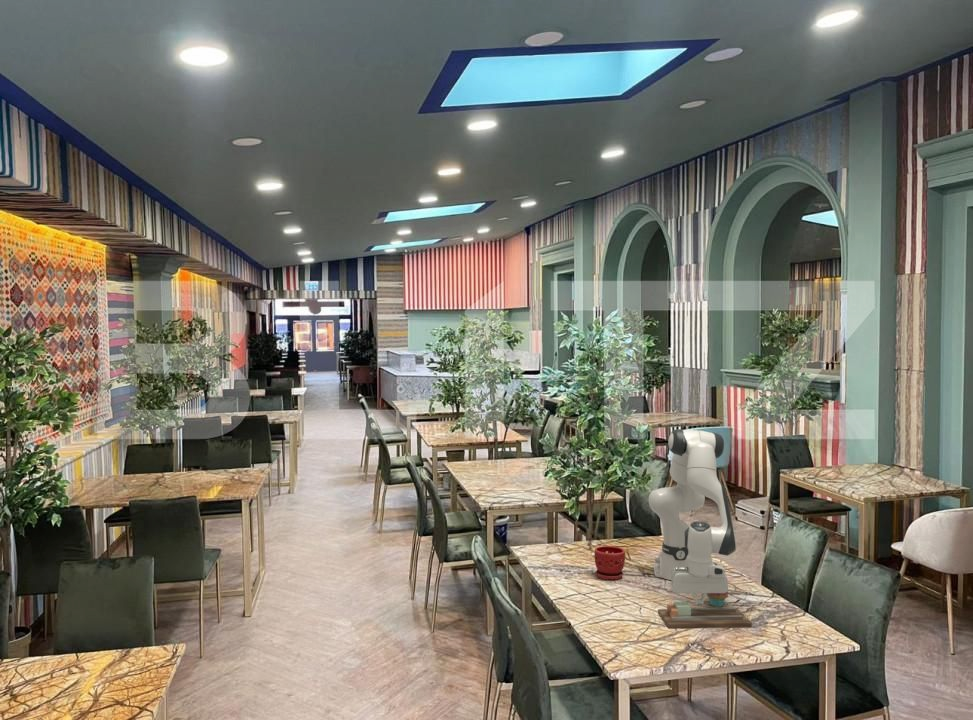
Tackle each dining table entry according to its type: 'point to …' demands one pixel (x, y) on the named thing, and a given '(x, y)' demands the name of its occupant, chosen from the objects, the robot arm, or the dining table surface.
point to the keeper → (683, 608)
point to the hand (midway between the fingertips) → (699, 604)
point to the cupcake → (717, 598)
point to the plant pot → (609, 562)
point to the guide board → (704, 618)
